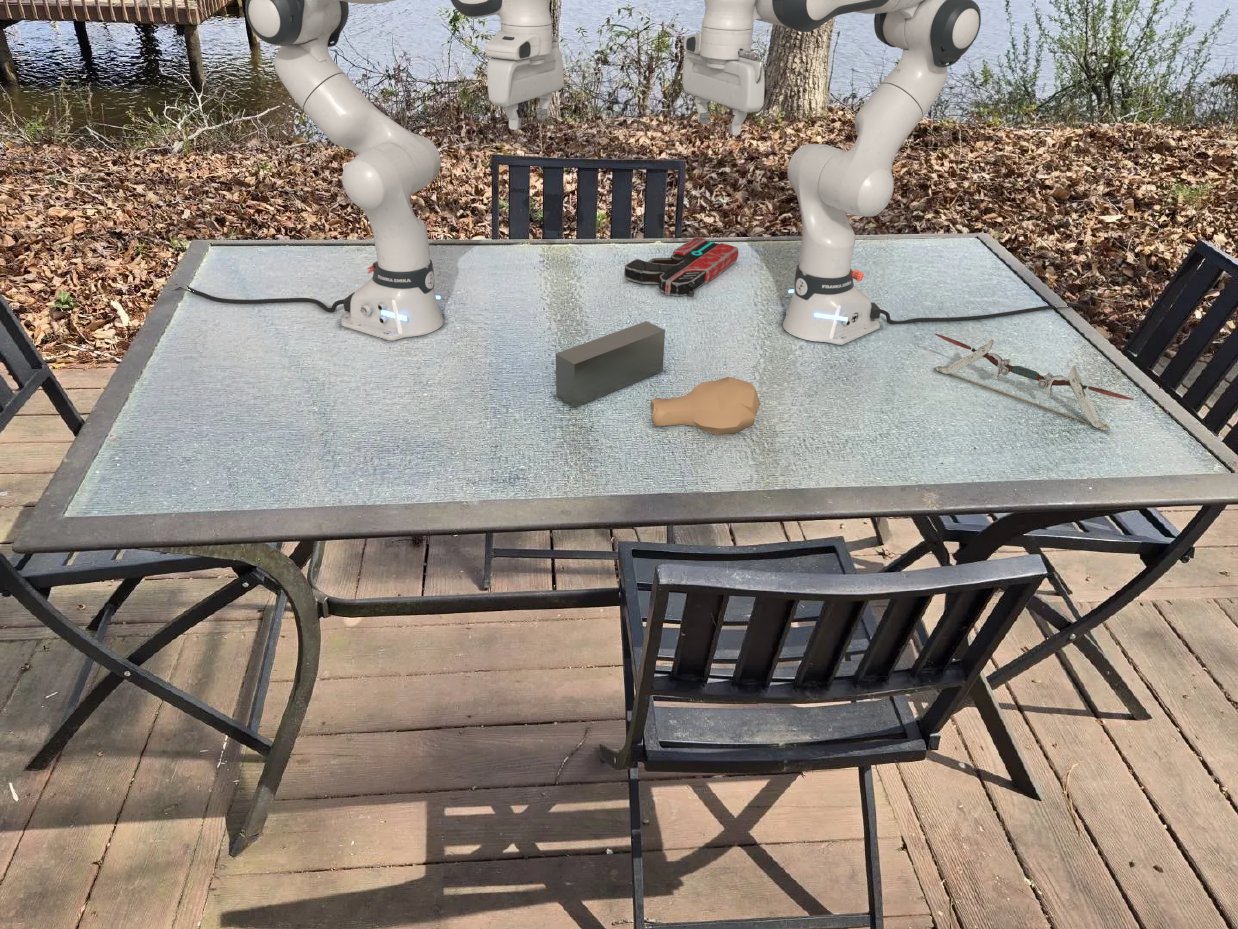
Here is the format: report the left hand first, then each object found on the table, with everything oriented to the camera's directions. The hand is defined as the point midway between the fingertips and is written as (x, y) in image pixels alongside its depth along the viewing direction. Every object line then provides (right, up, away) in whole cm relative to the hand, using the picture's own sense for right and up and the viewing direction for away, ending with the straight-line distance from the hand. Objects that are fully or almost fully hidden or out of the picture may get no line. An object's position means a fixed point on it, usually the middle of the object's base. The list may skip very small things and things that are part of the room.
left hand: (529, 123), depth 162 cm
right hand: (+35, -2, -2) cm, 35 cm away
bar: (+15, -47, +13) cm, 51 cm away
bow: (+95, -50, +12) cm, 108 cm away
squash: (+32, -56, 0) cm, 64 cm away
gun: (+33, -14, +63) cm, 73 cm away
